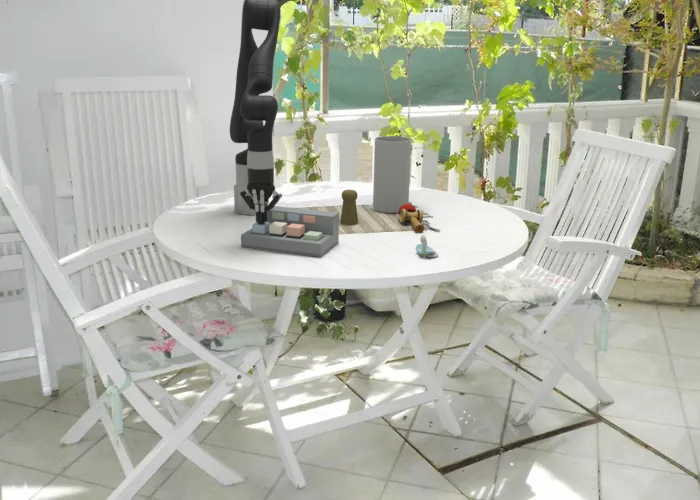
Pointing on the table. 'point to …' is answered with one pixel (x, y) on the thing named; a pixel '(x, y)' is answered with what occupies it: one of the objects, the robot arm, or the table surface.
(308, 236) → the key sage
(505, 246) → the table surface
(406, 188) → the cylinder vase
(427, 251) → the pacifier
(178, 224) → the table surface
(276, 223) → the key cream
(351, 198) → the olive ball-ended cylinder
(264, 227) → the key blue
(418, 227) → the kendama
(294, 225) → the key coral
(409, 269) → the table surface
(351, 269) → the table surface
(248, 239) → the keypad
